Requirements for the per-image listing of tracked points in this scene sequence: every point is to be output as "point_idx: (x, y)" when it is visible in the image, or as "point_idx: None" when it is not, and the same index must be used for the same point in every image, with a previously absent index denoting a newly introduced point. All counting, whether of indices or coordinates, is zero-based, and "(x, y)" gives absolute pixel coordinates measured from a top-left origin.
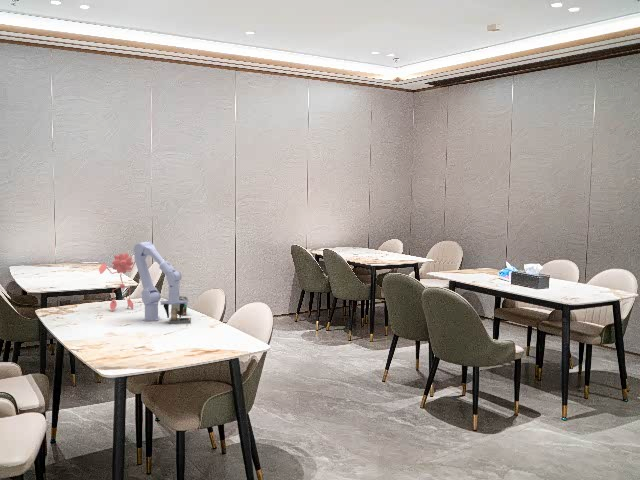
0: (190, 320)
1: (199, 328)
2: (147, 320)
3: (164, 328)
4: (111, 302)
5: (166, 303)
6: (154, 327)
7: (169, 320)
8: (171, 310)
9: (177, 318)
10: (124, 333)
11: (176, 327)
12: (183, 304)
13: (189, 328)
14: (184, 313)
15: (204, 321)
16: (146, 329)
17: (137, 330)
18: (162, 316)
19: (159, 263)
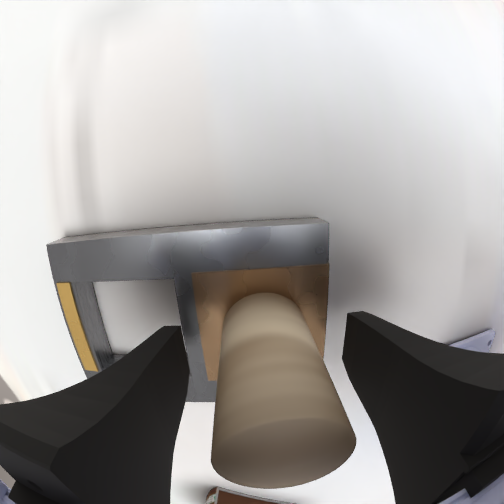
0: (50, 264)
1: (11, 50)
2: (478, 335)
3: (329, 3)
4: None
5: (496, 490)
6: (431, 69)
7: (325, 263)
8: (342, 405)
9: None
10: (500, 4)
11: (198, 28)
12: (23, 495)
13: (73, 21)
14: (210, 499)
15: (4, 318)
16: (457, 28)
17: (487, 30)
18: (358, 464)
19: None
